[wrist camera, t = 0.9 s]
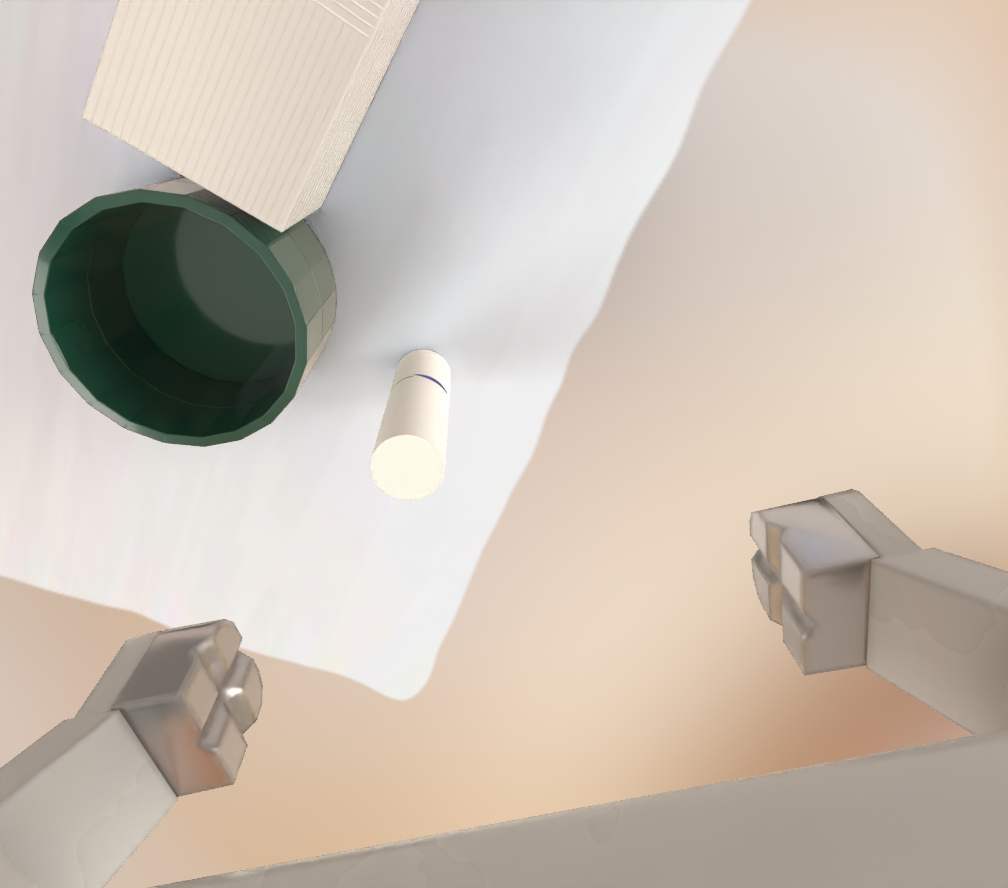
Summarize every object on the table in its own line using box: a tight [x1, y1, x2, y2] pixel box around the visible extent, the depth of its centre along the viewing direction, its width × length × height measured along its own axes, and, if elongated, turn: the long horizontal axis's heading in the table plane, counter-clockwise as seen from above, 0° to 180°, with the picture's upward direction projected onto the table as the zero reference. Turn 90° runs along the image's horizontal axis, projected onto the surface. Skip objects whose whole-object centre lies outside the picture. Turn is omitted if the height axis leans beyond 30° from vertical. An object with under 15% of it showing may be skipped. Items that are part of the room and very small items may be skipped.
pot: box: [32, 177, 337, 447], centre depth 43 cm, size 15×15×10 cm
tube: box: [370, 350, 451, 500], centre depth 45 cm, size 4×4×15 cm
